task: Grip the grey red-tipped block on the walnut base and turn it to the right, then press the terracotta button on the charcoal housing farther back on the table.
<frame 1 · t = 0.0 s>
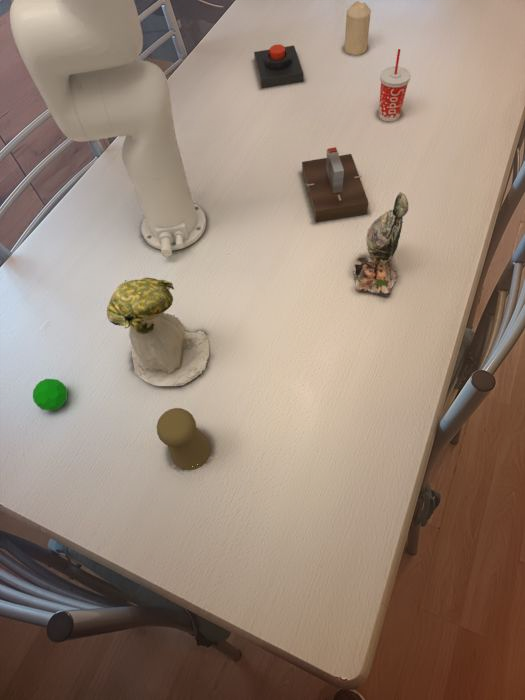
beverage cup: (389, 115, 110), on the table
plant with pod: (375, 273, 88), on the table
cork: (191, 450, 74), on the table
button box: (278, 71, 121), on the table
frog: (172, 355, 83), on the table
tap base: (333, 193, 99), on the table
polyhedron: (57, 401, 80), on the table
button: (277, 52, 117), point 4 cm above the table, slide at 0.1 cm
candle: (355, 49, 123), on the table
grey red-tipped block: (334, 170, 94), point 6 cm above the table, hinge at 0.0°
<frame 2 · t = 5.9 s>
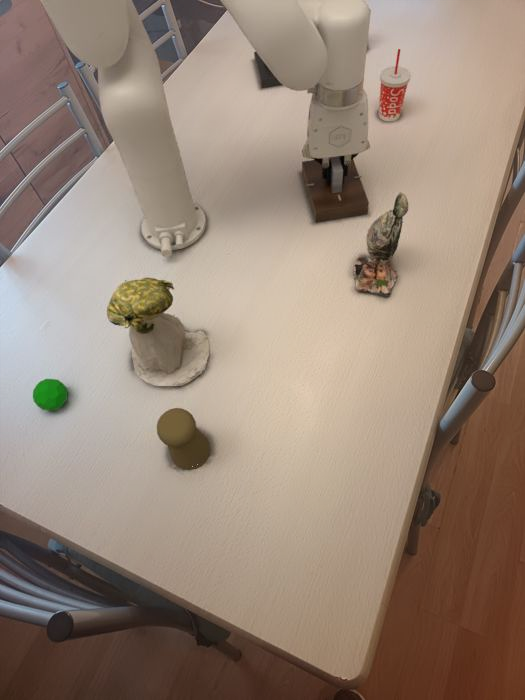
hand: (334, 178, 96), 4 cm above the table, tool pointing down, fingers closed on grey red-tipped block, 2 cm apart
grey red-tipped block: (334, 170, 94), point 6 cm above the table, hinge at -2.9°, touching gripper
everything else where it was.
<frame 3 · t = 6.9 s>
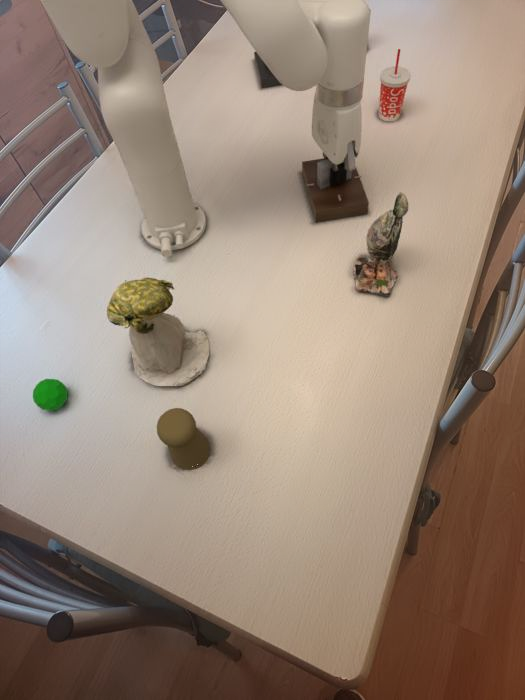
hand: (334, 178, 96), 4 cm above the table, tool pointing down, fingers closed, pressing on grey red-tipped block
grey red-tipped block: (334, 170, 94), point 6 cm above the table, hinge at -74.4°, touching gripper
everything else where it was.
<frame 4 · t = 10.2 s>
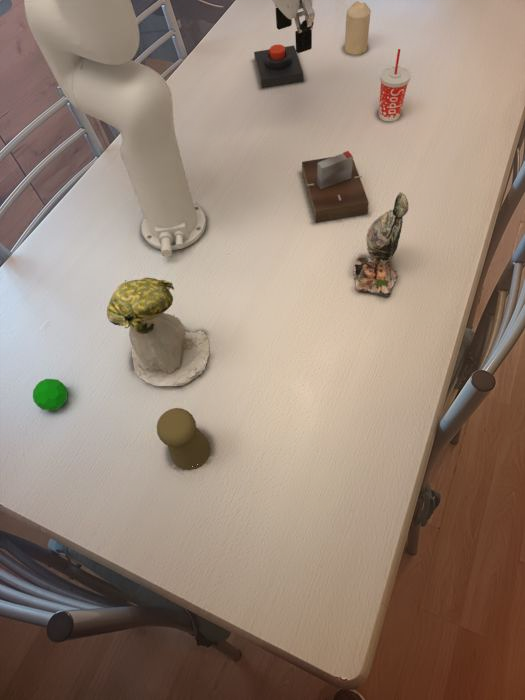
hand: (293, 38, 101), 15 cm above the table, tool pointing down, fingers open, 9 cm apart
grey red-tipped block: (334, 170, 94), point 6 cm above the table, hinge at -74.4°
everything else where it was.
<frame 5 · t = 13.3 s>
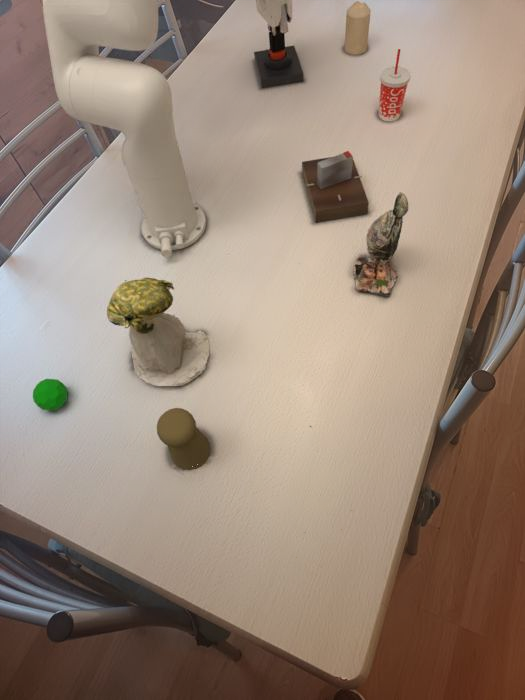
hand: (277, 49, 117), 5 cm above the table, tool pointing down, fingers closed
button: (277, 53, 117), point 4 cm above the table, slide at -0.2 cm, touching gripper
everything else where it was.
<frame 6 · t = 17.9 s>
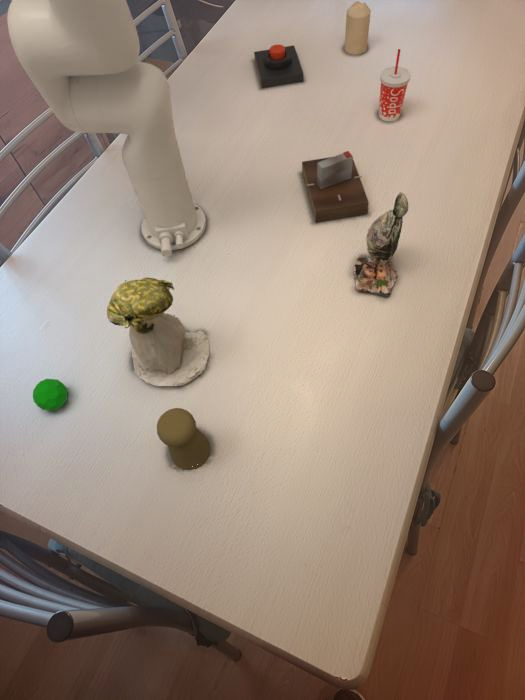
button: (277, 52, 117), point 4 cm above the table, slide at 0.1 cm
everything else where it was.
at the end: grey red-tipped block at -74° (first picture: +0°); button pushed in 1.1 cm at the most during the clip, back to where it started at the end; button slide at 0.1 cm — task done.
